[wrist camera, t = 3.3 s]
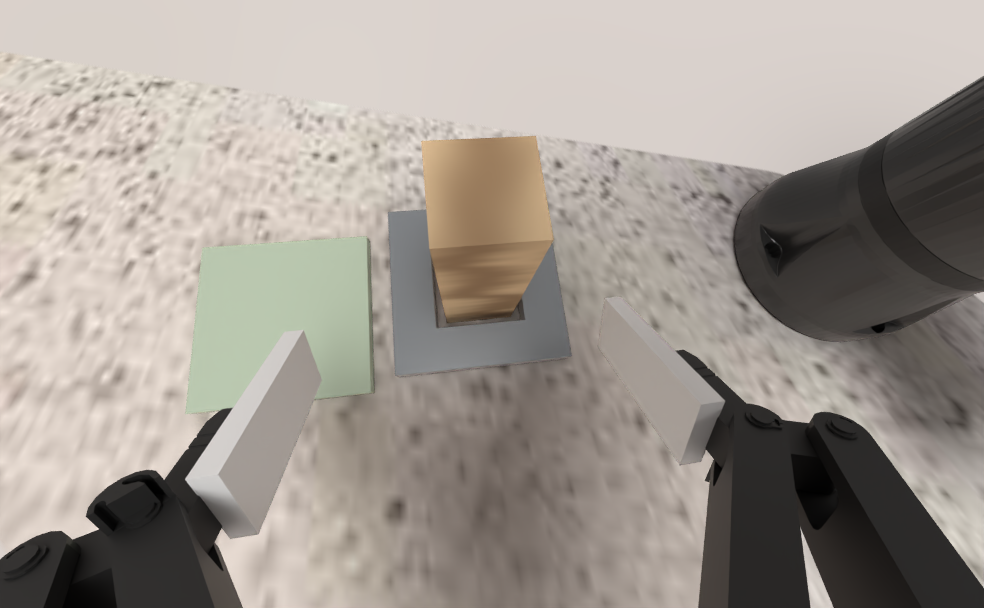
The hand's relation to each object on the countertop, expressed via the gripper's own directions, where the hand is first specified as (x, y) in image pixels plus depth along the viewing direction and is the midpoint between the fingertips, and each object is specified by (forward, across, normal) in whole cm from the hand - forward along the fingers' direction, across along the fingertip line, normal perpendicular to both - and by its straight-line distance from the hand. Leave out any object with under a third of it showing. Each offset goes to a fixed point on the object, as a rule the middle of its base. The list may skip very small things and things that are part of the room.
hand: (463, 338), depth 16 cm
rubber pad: (+11, -13, -4) cm, 18 cm away
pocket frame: (+12, +2, -4) cm, 13 cm away
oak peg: (+12, +2, -4) cm, 13 cm away
